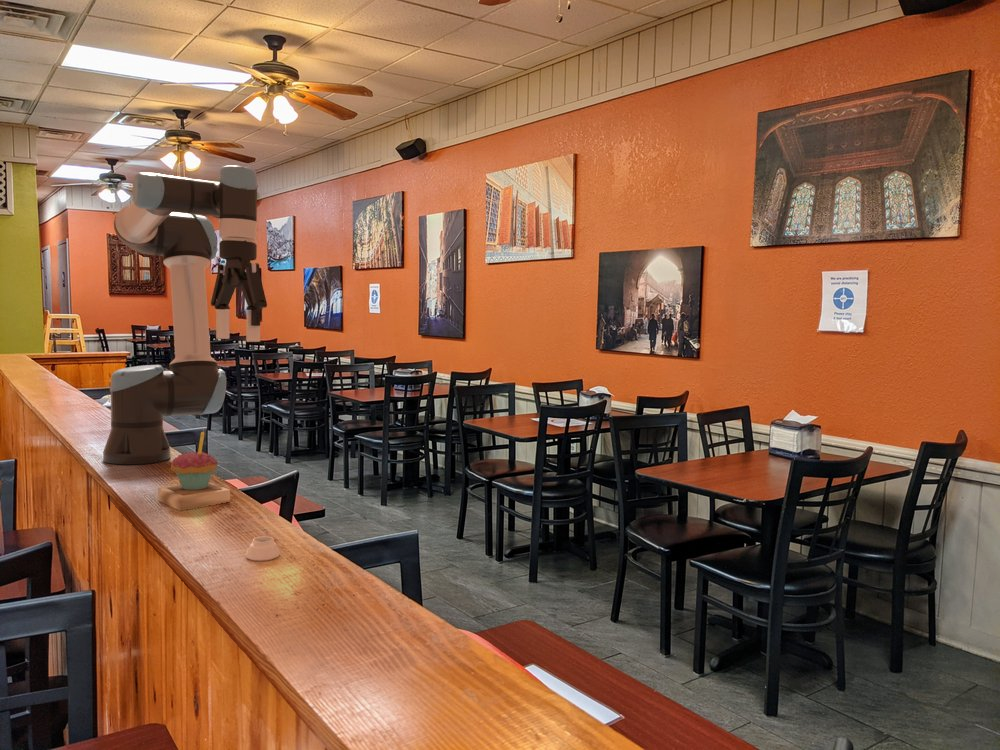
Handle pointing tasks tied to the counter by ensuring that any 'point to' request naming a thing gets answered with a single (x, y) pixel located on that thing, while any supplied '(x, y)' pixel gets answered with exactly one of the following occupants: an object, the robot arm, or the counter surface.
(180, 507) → the square tray
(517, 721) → the counter surface
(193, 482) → the cupcake
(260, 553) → the lidless jar
